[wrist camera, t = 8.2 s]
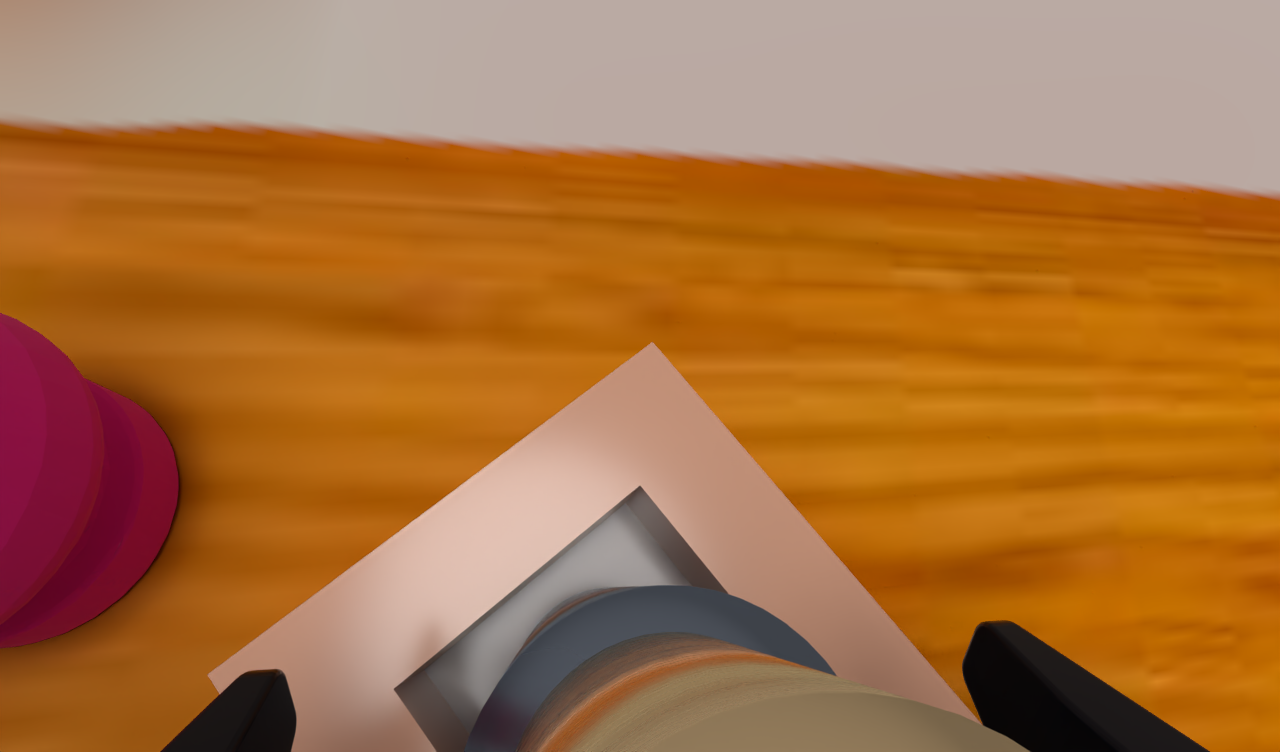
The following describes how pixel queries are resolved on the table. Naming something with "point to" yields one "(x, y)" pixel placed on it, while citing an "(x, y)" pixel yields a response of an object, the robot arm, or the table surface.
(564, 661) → the tube
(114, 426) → the pepper mill
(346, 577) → the socket block
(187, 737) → the robot arm
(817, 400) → the table surface
